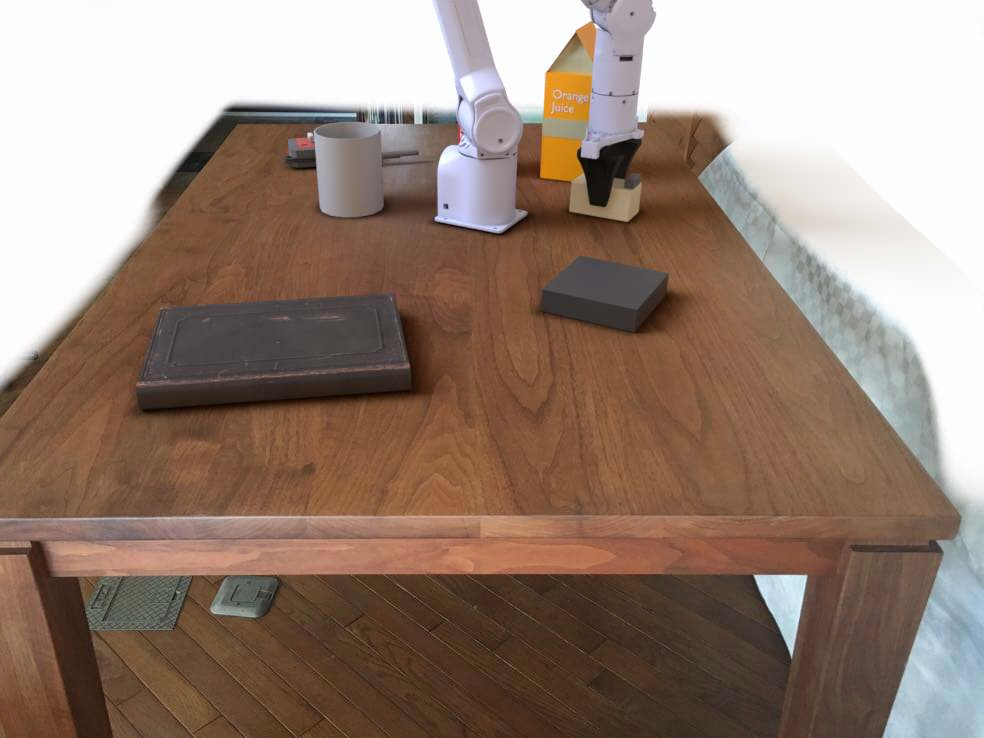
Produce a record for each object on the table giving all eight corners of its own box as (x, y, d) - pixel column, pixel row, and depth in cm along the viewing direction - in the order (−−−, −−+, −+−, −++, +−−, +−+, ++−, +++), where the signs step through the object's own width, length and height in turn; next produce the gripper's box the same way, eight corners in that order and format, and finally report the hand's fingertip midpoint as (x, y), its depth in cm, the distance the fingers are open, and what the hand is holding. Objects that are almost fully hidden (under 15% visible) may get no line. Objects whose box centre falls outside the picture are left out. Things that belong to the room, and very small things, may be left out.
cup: (308, 212, 117) (301, 135, 112) (338, 193, 124) (333, 119, 119) (366, 220, 115) (362, 141, 109) (393, 200, 121) (391, 125, 116)
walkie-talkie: (286, 174, 131) (420, 163, 135) (283, 143, 129) (419, 134, 133) (281, 157, 139) (408, 147, 143) (278, 128, 136) (407, 119, 140)
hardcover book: (164, 328, 89) (160, 307, 88) (395, 313, 92) (394, 292, 90) (139, 413, 76) (134, 389, 74) (411, 393, 78) (411, 370, 77)
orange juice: (539, 177, 129) (546, 28, 119) (556, 160, 136) (565, 18, 126) (592, 184, 127) (604, 32, 116) (607, 166, 134) (620, 22, 123)
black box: (540, 311, 92) (541, 288, 91) (577, 276, 99) (579, 255, 98) (634, 332, 88) (637, 309, 86) (666, 295, 95) (669, 273, 94)
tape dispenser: (569, 211, 117) (572, 161, 114) (581, 202, 120) (585, 153, 117) (627, 222, 114) (633, 170, 110) (638, 212, 117) (644, 161, 113)
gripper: (625, 107, 102) (614, 222, 109) (665, 82, 113) (652, 188, 120) (568, 100, 105) (560, 212, 112) (612, 77, 116) (602, 181, 123)
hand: (604, 200), depth 116 cm, fingers closed on tape dispenser, 4 cm apart
